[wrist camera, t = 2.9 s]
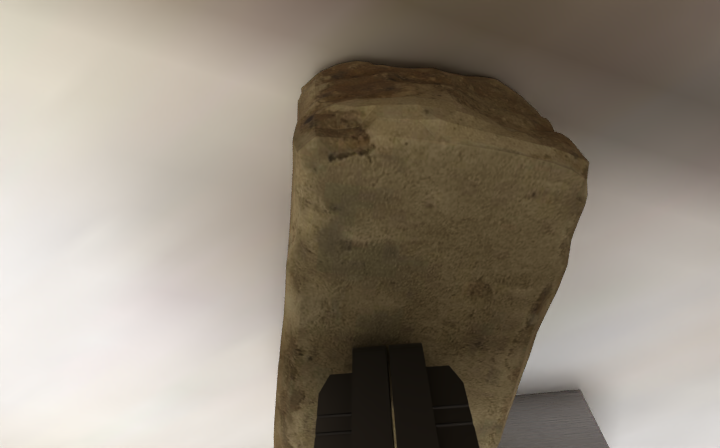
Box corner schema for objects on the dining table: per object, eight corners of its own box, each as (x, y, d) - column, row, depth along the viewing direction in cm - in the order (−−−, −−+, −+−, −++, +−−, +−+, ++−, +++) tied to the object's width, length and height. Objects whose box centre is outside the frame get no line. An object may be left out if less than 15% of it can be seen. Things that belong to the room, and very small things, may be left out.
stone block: (287, 391, 19) (264, 533, 14) (306, 45, 13) (278, 91, 9) (453, 403, 19) (483, 546, 14) (536, 69, 14) (626, 126, 9)
